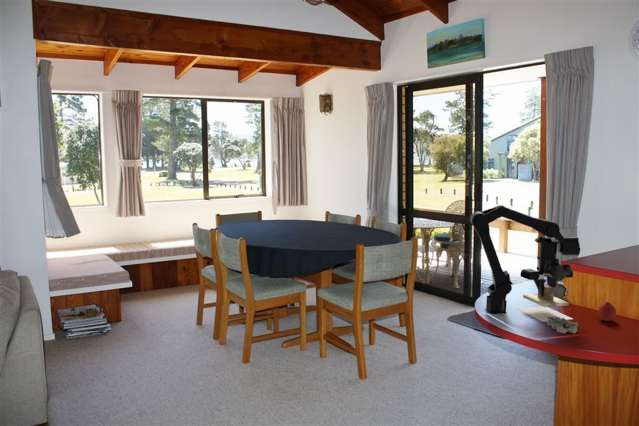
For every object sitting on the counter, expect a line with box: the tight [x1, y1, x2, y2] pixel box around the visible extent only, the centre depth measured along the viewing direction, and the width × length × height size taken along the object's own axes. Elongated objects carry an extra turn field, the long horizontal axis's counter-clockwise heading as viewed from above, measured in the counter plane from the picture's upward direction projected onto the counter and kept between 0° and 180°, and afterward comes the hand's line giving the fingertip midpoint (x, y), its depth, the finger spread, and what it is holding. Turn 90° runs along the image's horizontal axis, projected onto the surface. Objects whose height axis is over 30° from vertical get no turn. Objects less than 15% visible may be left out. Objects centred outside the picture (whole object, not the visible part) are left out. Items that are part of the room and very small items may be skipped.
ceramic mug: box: [554, 280, 569, 301], centre depth 227 cm, size 11×8×8 cm
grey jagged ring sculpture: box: [546, 316, 580, 336], centre depth 190 cm, size 11×8×4 cm
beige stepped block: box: [522, 283, 570, 308], centre depth 205 cm, size 10×13×6 cm
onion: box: [597, 299, 617, 322], centre depth 198 cm, size 6×6×8 cm
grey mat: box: [515, 305, 574, 323], centre depth 206 cm, size 13×16×1 cm
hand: (545, 295), depth 205 cm, fingers closed on beige stepped block, 3 cm apart
